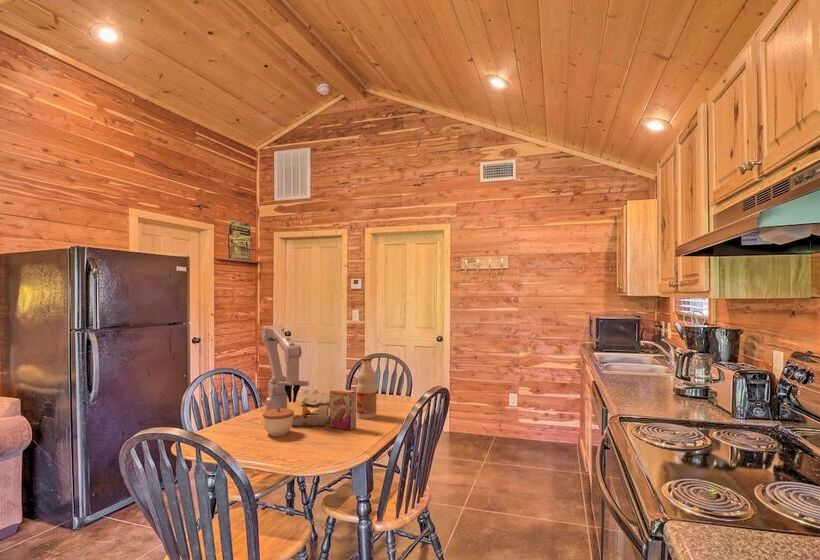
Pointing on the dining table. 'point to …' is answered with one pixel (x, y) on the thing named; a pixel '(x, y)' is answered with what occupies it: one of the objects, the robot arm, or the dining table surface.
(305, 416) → the shaft
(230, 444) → the dining table surface
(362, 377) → the fruit juice
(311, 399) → the food container
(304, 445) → the dining table surface
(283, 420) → the lidded bowl
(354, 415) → the candy bar box
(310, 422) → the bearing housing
